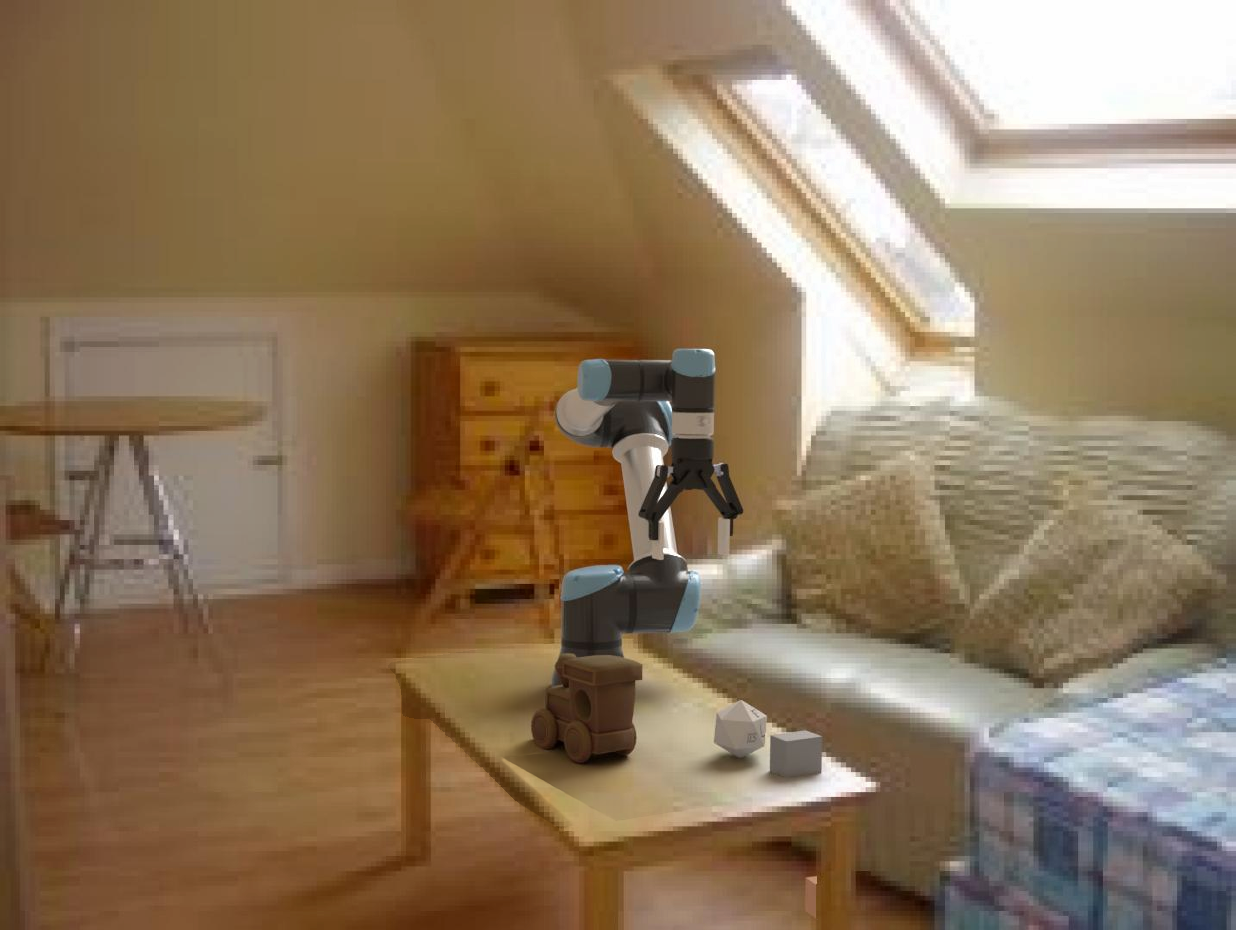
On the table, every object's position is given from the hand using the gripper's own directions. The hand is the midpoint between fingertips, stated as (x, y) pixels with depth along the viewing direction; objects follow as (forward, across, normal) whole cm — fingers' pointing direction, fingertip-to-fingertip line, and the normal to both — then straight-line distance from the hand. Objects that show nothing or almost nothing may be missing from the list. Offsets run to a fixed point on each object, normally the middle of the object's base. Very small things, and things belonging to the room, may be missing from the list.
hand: (691, 557), depth 266 cm
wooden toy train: (+32, -22, -3) cm, 39 cm away
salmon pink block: (+62, +20, -15) cm, 67 cm away
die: (+32, -1, -18) cm, 37 cm away
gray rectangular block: (+32, +2, -29) cm, 43 cm away
